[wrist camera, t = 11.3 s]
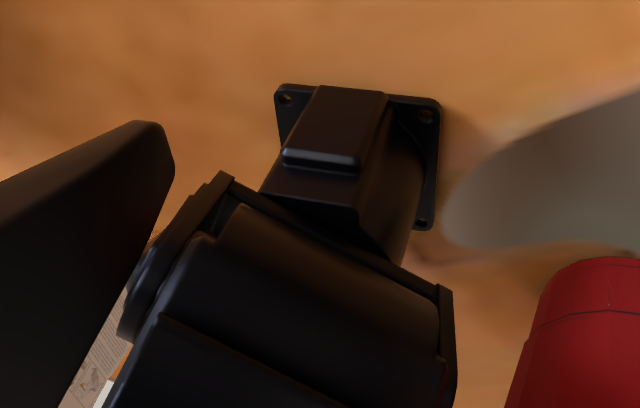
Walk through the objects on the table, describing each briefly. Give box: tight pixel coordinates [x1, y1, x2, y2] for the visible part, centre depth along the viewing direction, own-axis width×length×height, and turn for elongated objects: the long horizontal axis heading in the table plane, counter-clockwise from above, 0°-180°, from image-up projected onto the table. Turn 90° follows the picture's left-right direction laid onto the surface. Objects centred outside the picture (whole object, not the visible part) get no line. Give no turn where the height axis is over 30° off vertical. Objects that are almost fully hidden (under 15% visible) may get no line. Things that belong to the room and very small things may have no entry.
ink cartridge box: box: [58, 286, 132, 408], centre depth 33 cm, size 2×11×10 cm, turn 11°
